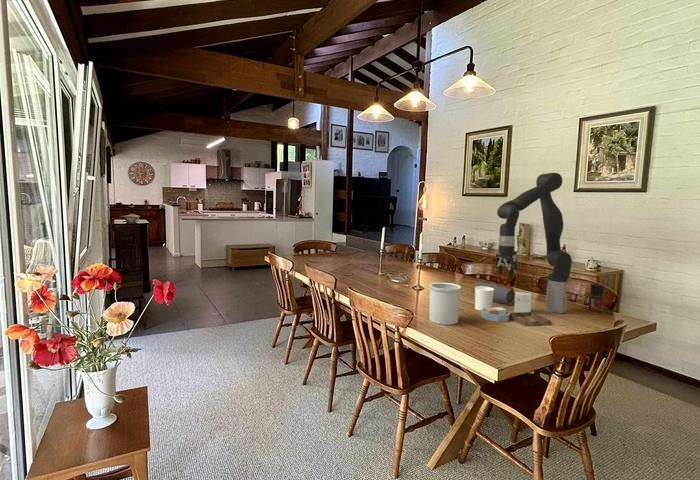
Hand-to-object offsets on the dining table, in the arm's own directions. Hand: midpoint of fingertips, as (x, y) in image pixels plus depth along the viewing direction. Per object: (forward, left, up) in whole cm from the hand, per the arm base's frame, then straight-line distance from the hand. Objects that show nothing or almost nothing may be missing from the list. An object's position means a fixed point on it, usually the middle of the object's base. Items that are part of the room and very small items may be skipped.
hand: (505, 275), depth 192 cm
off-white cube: (+4, +3, -21) cm, 21 cm away
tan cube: (+9, +4, -21) cm, 23 cm away
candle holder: (+4, -11, -21) cm, 24 cm away
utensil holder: (+34, +3, -21) cm, 40 cm away
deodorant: (-58, -1, -21) cm, 62 cm away
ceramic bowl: (+6, +4, -21) cm, 22 cm away
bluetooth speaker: (-12, -27, -21) cm, 36 cm away
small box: (-15, -4, -21) cm, 26 cm away
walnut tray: (-8, +10, -21) cm, 25 cm away
